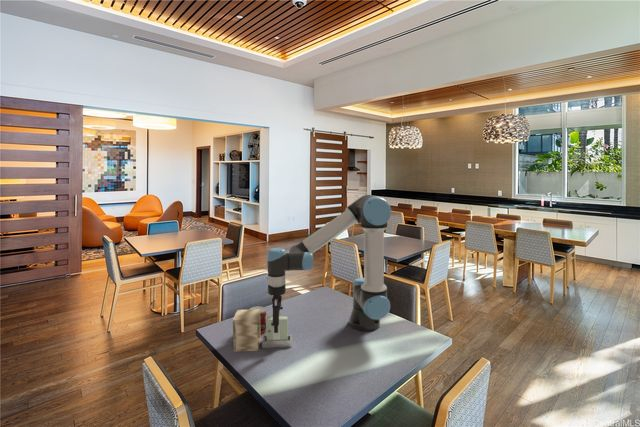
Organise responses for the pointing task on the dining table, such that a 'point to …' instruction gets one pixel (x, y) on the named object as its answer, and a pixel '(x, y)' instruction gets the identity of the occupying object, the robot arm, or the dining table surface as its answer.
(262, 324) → the canned food
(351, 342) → the dining table surface
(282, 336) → the pale green rectangular block
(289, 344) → the grey rectangular frame
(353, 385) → the dining table surface
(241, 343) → the open wooden box
